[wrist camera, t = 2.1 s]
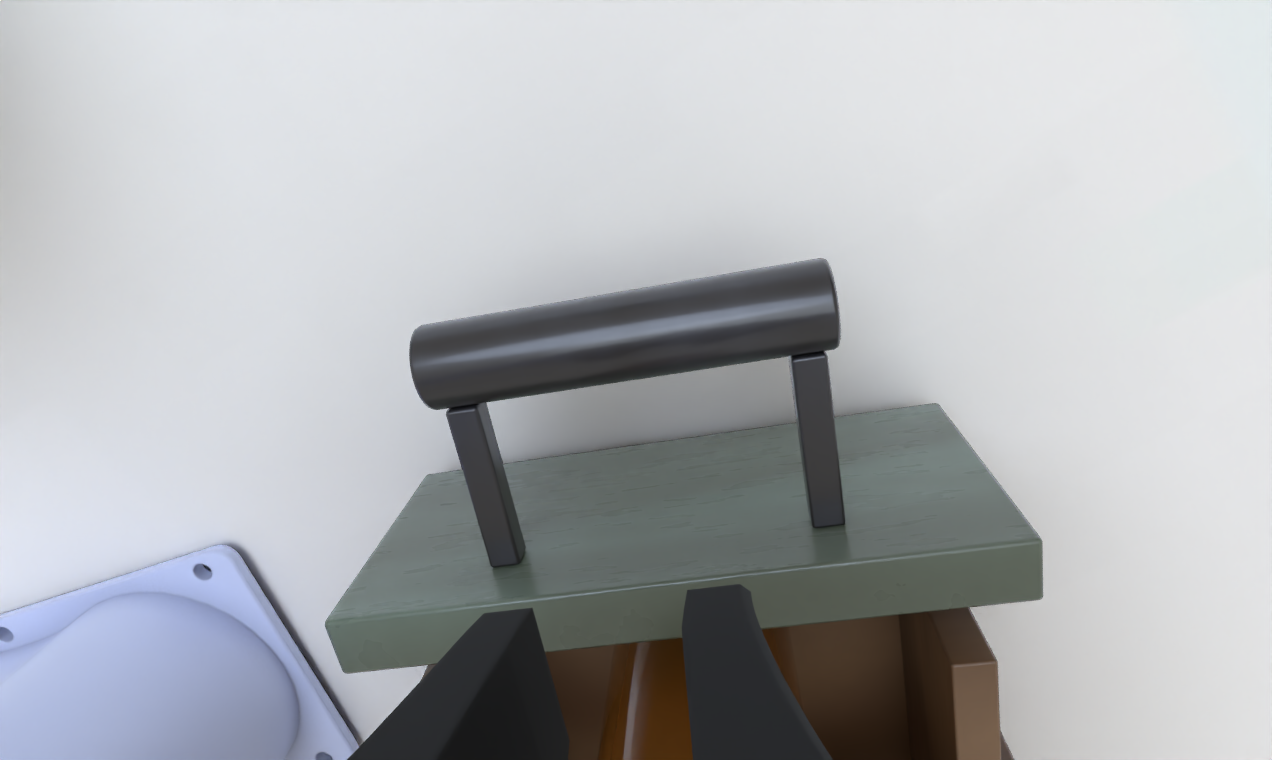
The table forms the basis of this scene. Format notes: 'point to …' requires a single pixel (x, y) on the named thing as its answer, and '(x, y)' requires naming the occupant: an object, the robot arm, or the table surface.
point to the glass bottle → (663, 698)
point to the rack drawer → (706, 520)
